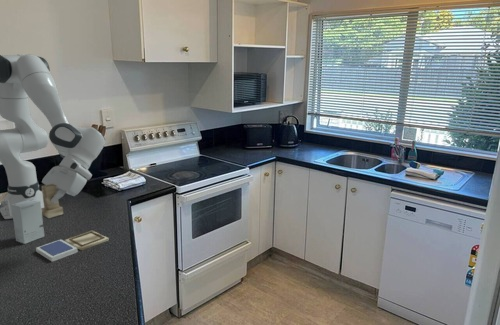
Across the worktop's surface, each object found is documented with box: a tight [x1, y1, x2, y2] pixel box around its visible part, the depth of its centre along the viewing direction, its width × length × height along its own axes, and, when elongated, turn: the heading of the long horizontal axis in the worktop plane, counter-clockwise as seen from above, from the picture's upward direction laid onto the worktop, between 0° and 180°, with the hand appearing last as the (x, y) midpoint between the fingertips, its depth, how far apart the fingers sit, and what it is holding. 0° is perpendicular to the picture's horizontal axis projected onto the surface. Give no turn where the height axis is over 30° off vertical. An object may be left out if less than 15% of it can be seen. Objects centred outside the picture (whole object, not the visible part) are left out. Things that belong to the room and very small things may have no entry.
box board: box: [64, 230, 110, 251], centre depth 142 cm, size 12×11×1 cm
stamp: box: [41, 184, 64, 220], centre depth 129 cm, size 5×5×11 cm
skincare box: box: [11, 200, 45, 245], centre depth 142 cm, size 8×6×15 cm
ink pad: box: [35, 238, 79, 262], centre depth 133 cm, size 12×9×2 cm
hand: (48, 200), depth 129 cm, fingers closed on stamp, 3 cm apart
